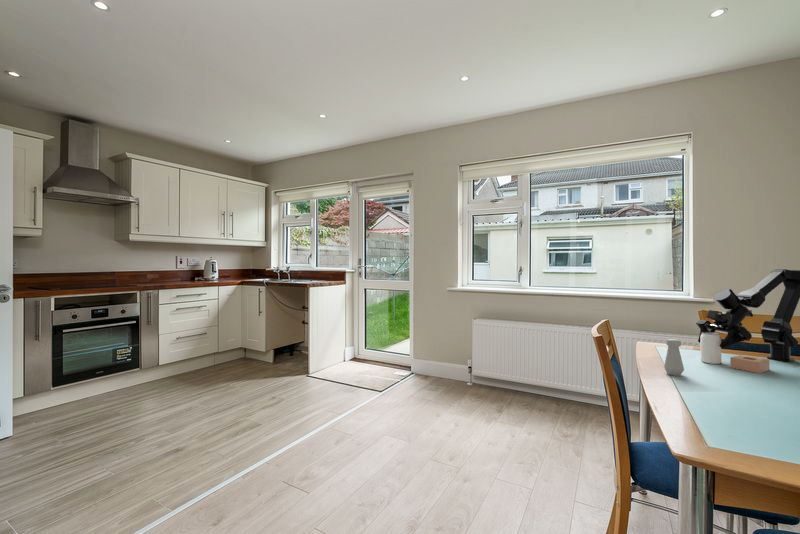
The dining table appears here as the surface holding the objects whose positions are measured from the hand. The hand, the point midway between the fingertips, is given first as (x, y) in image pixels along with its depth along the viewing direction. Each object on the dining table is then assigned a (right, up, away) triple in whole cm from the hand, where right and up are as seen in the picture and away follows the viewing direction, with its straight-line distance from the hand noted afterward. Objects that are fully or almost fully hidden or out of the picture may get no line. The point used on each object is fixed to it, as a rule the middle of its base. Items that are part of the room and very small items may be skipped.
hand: (709, 344), depth 146 cm
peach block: (+7, -7, -10) cm, 14 cm away
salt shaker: (-26, -8, -15) cm, 31 cm away
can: (+1, -8, 0) cm, 8 cm away
